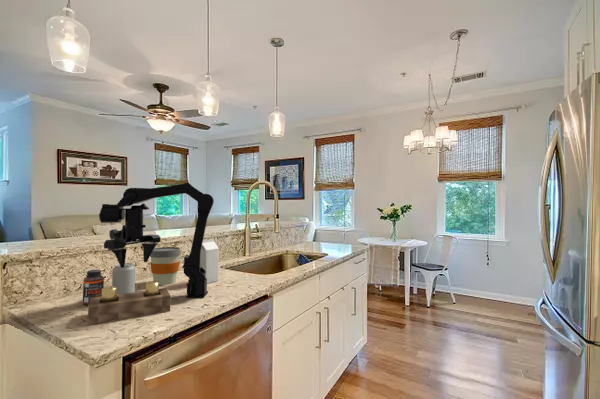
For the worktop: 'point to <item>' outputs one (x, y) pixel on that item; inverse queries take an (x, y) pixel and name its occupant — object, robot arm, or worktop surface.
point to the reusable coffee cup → (165, 264)
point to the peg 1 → (109, 294)
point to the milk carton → (210, 260)
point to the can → (124, 278)
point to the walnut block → (127, 306)
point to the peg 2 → (152, 288)
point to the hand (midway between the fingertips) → (134, 264)
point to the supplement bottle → (92, 285)
